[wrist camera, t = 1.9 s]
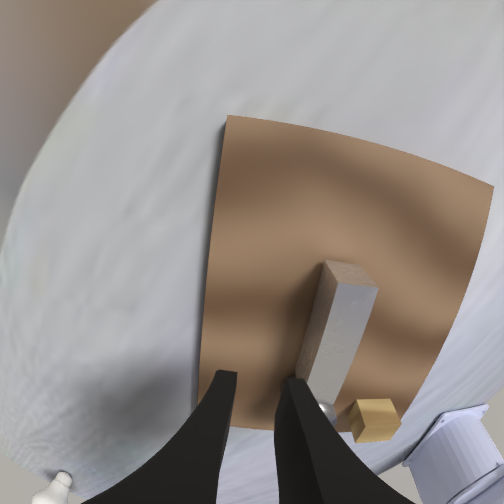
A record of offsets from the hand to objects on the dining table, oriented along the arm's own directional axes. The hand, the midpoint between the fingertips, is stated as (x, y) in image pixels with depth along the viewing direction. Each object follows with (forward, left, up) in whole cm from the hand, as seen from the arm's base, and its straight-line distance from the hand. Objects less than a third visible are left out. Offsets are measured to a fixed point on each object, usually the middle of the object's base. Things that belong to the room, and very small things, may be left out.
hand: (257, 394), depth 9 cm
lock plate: (-1, -6, -8) cm, 10 cm away
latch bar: (-2, -4, -7) cm, 8 cm away
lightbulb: (-38, +24, -9) cm, 46 cm away
